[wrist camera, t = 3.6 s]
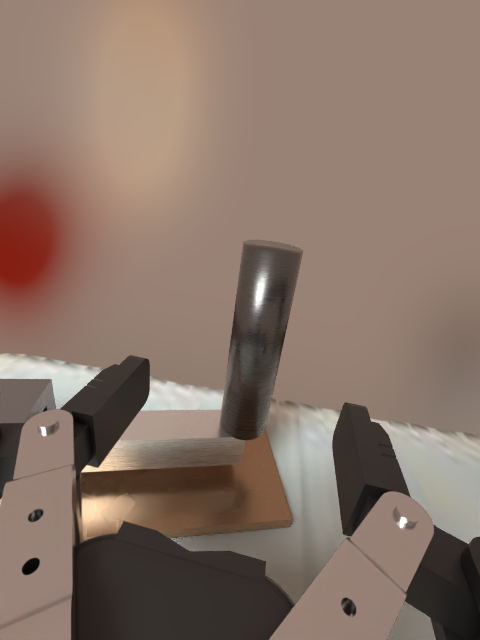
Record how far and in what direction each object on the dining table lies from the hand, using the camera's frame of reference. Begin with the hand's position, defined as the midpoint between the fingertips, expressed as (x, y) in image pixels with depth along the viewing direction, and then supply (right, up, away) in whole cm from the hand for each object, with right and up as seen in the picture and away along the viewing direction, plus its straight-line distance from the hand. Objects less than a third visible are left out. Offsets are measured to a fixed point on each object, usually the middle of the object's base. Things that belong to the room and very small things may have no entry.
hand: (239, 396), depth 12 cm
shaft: (-7, -6, +9) cm, 13 cm away
